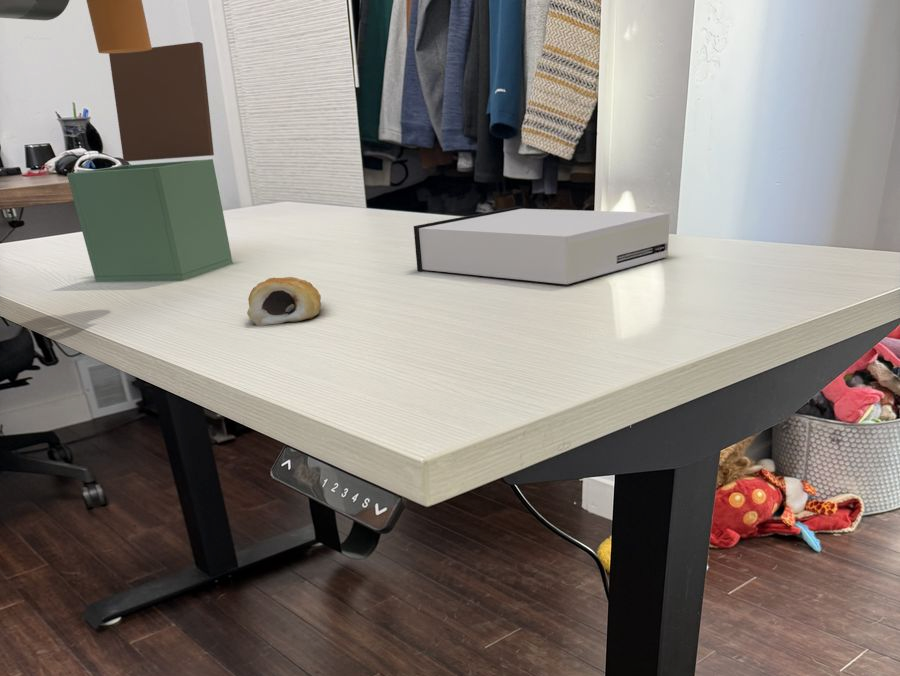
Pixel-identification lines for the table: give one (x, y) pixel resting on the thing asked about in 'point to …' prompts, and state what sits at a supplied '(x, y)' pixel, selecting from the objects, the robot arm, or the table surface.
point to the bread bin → (152, 221)
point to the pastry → (283, 301)
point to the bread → (119, 26)
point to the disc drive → (542, 243)
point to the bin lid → (162, 102)
